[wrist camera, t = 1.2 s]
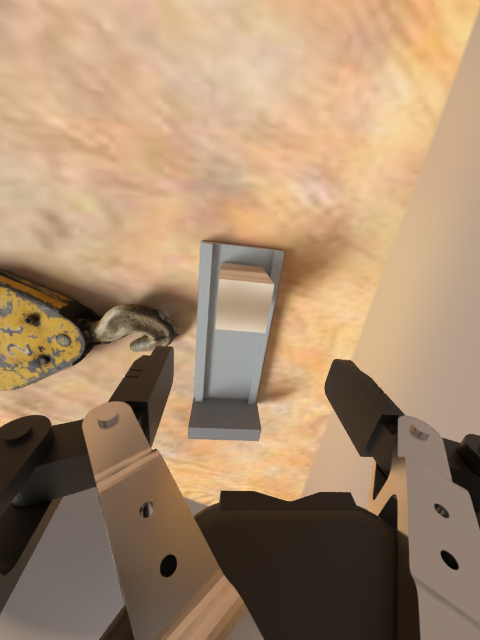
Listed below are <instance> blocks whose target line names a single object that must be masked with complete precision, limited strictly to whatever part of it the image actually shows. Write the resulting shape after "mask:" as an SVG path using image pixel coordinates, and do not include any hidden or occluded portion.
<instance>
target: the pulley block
mask: <svg viewBox="0 0 480 640" xmlns="http://www.w3.org/2000/svg"><path fill="white" fill-rule="evenodd" d="M177 326H178V325H173V323H172V322H171V320H170V318H169V317H167V316H166V313H164V312H162V311H159V310H156V309H153V308H150V307H147V306H143V305H136V304H124V305H118V306H115V307H113V308H112V309H110V310H109V311H108V312H106V313H105V315H104V316H103V318H102V319H101V318H100V317H99V316H98V315H97V314H96V313H95V312H94V311H92V310H90V309H89V308H87V307H85V306H84V305H82V304H80V303H79V302H77V301H75V300H73V299H71V298H68V297H66V296H64V295H61V294H59V293H57V292H54V291H52V290H49V289H47V288H45V287H42V286H40V285H37V284H35V283H33V282H30V281H28V280H26V279H23V278H21V277H18V276H16V275H14V274H11V273H9V272H7V271H5V270H1V269H0V391H5V390H15V389H19V388H22V387H25V386H27V385H30V384H32V383H36V382H37V381H39V380H41V379H44V378H46V377H48V376H51V375H53V374H55V373H58V372H60V371H62V370H64V369H67V368H69V367H71V366H73V365H75V364H77V363H78V362H80V361H81V360H82V359H83V358H84V357H85V356H86V355H87V354H88V353H89V352H90V350H91V349H92V348H93V346H94V345H97V344H100V343H101V342H102V343H105V344H106V343H110V342H111V341H113V340H117V339H120V338H123V337H125V336H126V335H128V334H129V333H131V332H139V333H143V334H145V335H147V336H144V337H141V338H139V339H137V340H134V341H133V342H131V344H130V350H132V351H135V352H143V351H153V350H154V349H155V347H156V346H168V345H169V344H171V342H172V340H173V339H174V337H175V336H177V335H179V334H177V333H176V332H177V331H176V329H177Z"/></svg>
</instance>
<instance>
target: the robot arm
mask: <svg viewBox="0 0 480 640" xmlns="http://www.w3.org/2000/svg"><path fill="white" fill-rule="evenodd" d="M173 375H174V350H173V347H171V346H156V347H155V349H154V350H153V352H152V354H151V356H147V355H143V356H141V357H140V358H139V359H137V360H136V361H134V363H133V364H132V366H131V367H130V369H129V371H128V372H127V374H126V375H125V377H124V378H123V380H122V381H121V383H120V384H119V386H118V387H117V389H116V390H115V392H114V393H113V395H112V397H111V398H110V400H109V401H108V403H104V404H102V405H99V406H97V407H96V408H94V409H93V410H91V411H90V412H89V413H88V414H87V415H86V416H85V418H84V419H82V420H78V421H74V422H69V423H64V424H59V425H54V426H52V425H51V422H50V420H49V419H48V418H47V417H45V416H41V415H31V416H25V417H21V418H19V419H16V420H13V421H11V422H9V423H7V424H5V425H3V426H2V427H0V614H1V612H2V610H3V608H4V606H5V604H6V602H7V601H8V599H9V597H10V595H11V593H12V591H13V589H14V587H15V586H16V584H17V582H18V580H19V578H20V576H21V574H22V572H23V570H24V569H25V567H26V565H27V563H28V561H29V559H30V557H31V555H32V554H33V552H34V550H35V548H36V546H37V544H38V542H39V541H40V539H41V537H42V535H43V533H44V531H45V529H46V527H47V525H48V524H49V522H50V520H51V518H52V516H53V514H54V512H55V511H56V509H57V507H58V505H59V503H60V501H61V499H62V497H63V496H67V495H70V494H74V493H77V492H80V491H83V490H87V489H90V488H93V487H96V489H97V493H98V498H99V502H100V506H101V510H102V514H103V518H104V522H105V527H106V531H107V534H108V539H109V543H110V547H111V551H112V555H113V560H114V564H115V568H116V573H117V576H118V580H119V585H120V589H121V593H122V597H123V601H124V606H123V608H122V609H121V610H120V612H119V613H118V615H117V616H116V617H115V619H114V620H113V621H112V623H111V624H110V625H109V627H108V628H107V630H106V631H105V632H104V634H103V635H102V636H101V638H100V639H99V640H480V436H478V435H474V434H468V435H466V436H465V437H464V439H463V440H462V442H461V443H458V442H455V441H451V440H448V439H444V438H442V437H441V436H440V435H439V433H438V432H437V431H436V430H435V429H434V428H432V427H431V426H430V425H428V424H427V423H425V422H423V421H421V420H420V419H417V418H415V417H411V416H405V415H404V413H403V412H402V411H401V410H400V409H399V408H398V407H397V406H396V405H395V404H394V402H393V401H392V400H391V399H390V398H389V397H388V396H387V395H386V394H385V393H384V392H383V390H382V389H381V388H380V387H378V385H377V384H376V383H375V382H374V381H373V379H372V378H370V377H369V376H368V375H366V374H365V373H363V372H362V371H360V370H359V368H358V367H357V366H356V365H355V364H354V363H353V362H352V361H351V360H341V359H335V360H334V361H333V362H332V365H331V368H330V370H329V373H328V376H327V379H326V382H325V394H326V396H327V398H328V400H329V402H330V403H331V405H332V407H333V409H334V411H335V412H336V414H337V416H338V418H339V419H340V421H341V423H342V425H343V426H344V428H345V430H346V432H347V434H348V435H349V437H350V439H351V441H352V442H353V444H354V446H355V448H356V449H357V451H358V453H359V455H360V456H361V457H373V458H374V459H375V462H374V464H373V466H372V472H371V481H370V489H369V490H370V491H369V498H368V506H367V510H366V509H364V508H362V507H359V506H357V505H356V504H355V501H354V499H353V497H352V495H351V493H349V492H319V493H316V494H313V495H310V496H307V497H304V498H301V499H298V500H295V501H285V500H281V499H278V498H275V497H272V496H268V495H265V494H262V493H258V492H255V491H221V493H220V501H219V503H217V504H214V505H211V506H209V507H207V508H205V509H203V510H202V511H200V512H199V513H197V514H196V515H195V516H193V515H192V513H191V511H190V509H189V507H188V505H187V503H186V502H185V500H184V498H183V496H182V494H181V492H180V490H179V488H178V486H177V484H176V482H175V480H174V479H173V477H172V475H171V473H170V471H169V469H168V467H167V465H166V463H165V461H164V459H163V457H162V456H161V454H160V452H159V451H158V450H157V449H154V450H152V449H151V447H152V444H153V441H154V438H155V435H156V432H157V429H158V426H159V423H160V420H161V417H162V414H163V411H164V408H165V405H166V402H167V399H168V396H169V393H170V390H171V387H172V383H173Z"/></svg>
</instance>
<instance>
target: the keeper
mask: <svg viewBox="0 0 480 640" xmlns="http://www.w3.org/2000/svg"><path fill="white" fill-rule="evenodd" d="M273 289H274V283H273V282H272V280H271V279H270V277H269V276H268V275H267V273H266V272H265V270H264V269H263V268H262V267H259V266H250V265H241V264H231V263H222V262H221V268H220V276H219V287H218V300H217V312H216V325H215V329H221V330H233V331H246V332H258V333H266V327H267V322H268V316H269V311H270V306H271V300H272V295H273Z"/></svg>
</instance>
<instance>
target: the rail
mask: <svg viewBox="0 0 480 640" xmlns="http://www.w3.org/2000/svg"><path fill="white" fill-rule="evenodd" d="M284 256H285V251H283V250H276V249H268V248H259V247H251V246H242V245H234V244H225V243H217V242H208V241H201V242H200V264H199V288H198V311H197V335H196V359H195V382H194V399H193V405H192V410H191V416H190V421H189V426H188V439H211V440H242V441H259V438H260V433H261V426H260V419H259V413H258V407H257V401H256V400H257V395H258V390H259V385H260V379H261V374H262V369H263V364H264V359H265V354H266V348H267V343H268V338H269V333H270V328H271V323H272V318H273V312H274V307H275V302H276V297H277V292H278V287H279V281H280V276H281V271H282V266H283V261H284ZM221 262H222V263H231V264H241V265H250V266H259V267H262V268H263V269H264V270H265V272H266V273H267V275H268V276H269V277H270V279H271V280H272V282H273V283H274V289H273V295H272V300H271V306H270V311H269V316H268V322H267V327H266V333H258V332H246V331H233V330H221V329H215V325H216V312H217V300H218V287H219V276H220V268H221Z"/></svg>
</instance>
